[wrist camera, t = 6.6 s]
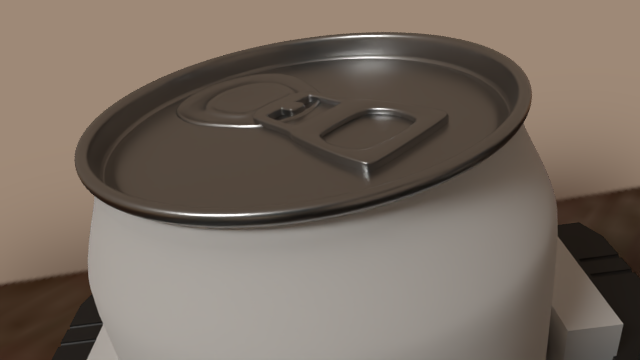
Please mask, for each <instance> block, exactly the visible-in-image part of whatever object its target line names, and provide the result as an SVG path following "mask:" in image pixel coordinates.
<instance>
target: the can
mask: <svg viewBox="0 0 640 360" xmlns="http://www.w3.org/2000/svg"><path fill="white" fill-rule="evenodd" d="M531 99H532V91H531V85H530V83H529V80H528V78H527V76H526V74H525V73H524V72H523V70H522V69H521V68H520V67H519V66H518V65H517V64H516V63H515V62H514V61H512V60H511V59H510V58H508V57H506V56H505V55H503V54H501V53H499V52H497V51H495V50H493V49H490V48H488V47H485V46H482V45H479V44H476V43H473V42H469V41H465V40H461V39H455V38H450V37H444V36H437V35H429V34H418V33H398V32H373V33H350V34H337V35H327V36H319V37H310V38H304V39H297V40H290V41H284V42H279V43H274V44H269V45H264V46H259V47H255V48H250V49H246V50H242V51H238V52H234V53H230V54H227V55H223V56H220V57H217V58H213V59H210V60H207V61H204V62H201V63H198V64H195V65H192V66H189V67H186V68H184V69H181V70H178V71H176V72H174V73H171V74H169V75H167V76H164V77H162V78H159V79H157V80H155V81H153V82H151V83H149V84H147V85H145V86H143V87H141V88H139V89H137V90H136V91H134V92H132V93H130V94H128V95H127V96H125V97H123V98H122V99H120V100H119V101H117V102H116V103H114V104H113V105H112V106H110V107H109V108H108V109H106V110H105V111H104V112H103V113H102V114H100V115H99V116H98V117H97V118H96V119H95V120H94V121H93V122H92V123H91V124H90V125H89V127H88V128H87V129H86V131H85V132H84V133H83V135H82V136H81V138H80V140H79V142H78V145H77V148H76V151H75V167H76V171H77V174H78V176H79V178H80V180H81V182H82V183H83V185H84V186H85V187H86V188H87V189H88V190H89V191H90V192H91V193H92V194H93V195H94V208H93V216H92V222H91V230H90V239H89V251H88V276H89V283H90V288H91V291H92V294H93V297H94V300H95V304H96V307H97V310H98V313H99V315H100V318H101V320H102V322H103V324H104V327H105V329H106V331H107V334H108V336H109V338H110V340H111V343H112V345H113V347H114V350H115V352H116V354H117V356H118V358H119V360H546V352H547V343H548V334H549V325H550V315H551V306H552V296H553V286H554V277H555V264H556V251H557V237H558V225H557V205H556V199H555V195H554V191H553V188H552V185H551V182H550V179H549V176H548V174H547V172H546V169H545V167H544V165H543V163H542V161H541V159H540V157H539V154H538V152H537V151H536V149H535V147H534V145H533V143H532V141H531V139H530V137H529V135H528V133H527V131H526V129H525V126H524V124H523V123H524V121H525V119H526V117H527V115H528V112H529V109H530V106H531Z"/></svg>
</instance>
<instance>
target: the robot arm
mask: <svg viewBox="0 0 640 360" xmlns="http://www.w3.org/2000/svg"><path fill="white" fill-rule="evenodd" d="M52 360H119V358H118V356H117V354H116V352H115V350H114V347H113V345H112V343H111V340H110V338H109V336H108V334H107V331H106V329H105V327H104V324H103V322H102V320H101V318H100V315H99V313H98V310H97V307H96V304H95V300H94V297H93V294H92V295H91V296H90V297H89V298H88V299H87V300H86V301H85V302H84V303H83V304H82V305H81V306H80V308H79V310H78V312H77V313H76V315H75V317H74V319H73V321H72V323H71V325H70V330H67V332H66V334H65V336H64V338H63V340H62V342H61V347H58V349H57V351H56V353H55V355H54V357H53V358H52ZM546 360H640V278H639V277H638V276H637V275H636V274H635V273H632V271H631V268H630V267H629V266H628V264H627V263H626V262H625V261H624V260H623V259H622V258H619V256H618V253H617V252H616V251H615V250H614V249H613V247H612V246H611V245H610V244H609V243H608V242H607V241H606V239H605V238H604V237H603V236H601V235H600V234H598V233H596V232H595V231H593V230H591V229H589V228H588V227H586V226H584V225H583V224H581V223H579V222H578V223H571V224H563V225H558V237H557V251H556V264H555V277H554V286H553V296H552V306H551V315H550V325H549V334H548V343H547V352H546Z"/></svg>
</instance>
